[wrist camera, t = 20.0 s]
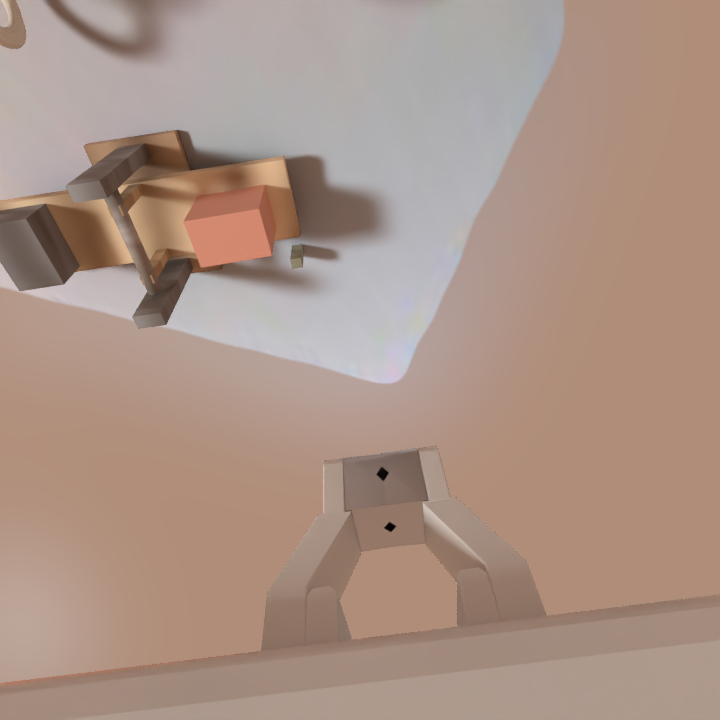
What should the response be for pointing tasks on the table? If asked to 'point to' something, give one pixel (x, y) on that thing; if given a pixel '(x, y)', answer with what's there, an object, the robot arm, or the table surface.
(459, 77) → the table surface
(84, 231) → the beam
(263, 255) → the salmon red rectangular block
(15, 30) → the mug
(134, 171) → the stand
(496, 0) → the table surface
